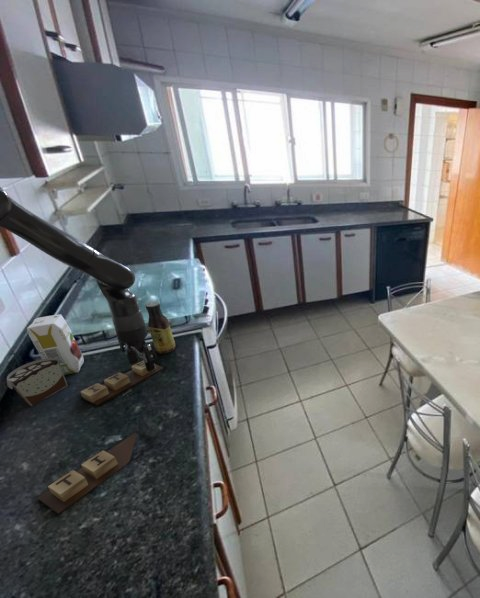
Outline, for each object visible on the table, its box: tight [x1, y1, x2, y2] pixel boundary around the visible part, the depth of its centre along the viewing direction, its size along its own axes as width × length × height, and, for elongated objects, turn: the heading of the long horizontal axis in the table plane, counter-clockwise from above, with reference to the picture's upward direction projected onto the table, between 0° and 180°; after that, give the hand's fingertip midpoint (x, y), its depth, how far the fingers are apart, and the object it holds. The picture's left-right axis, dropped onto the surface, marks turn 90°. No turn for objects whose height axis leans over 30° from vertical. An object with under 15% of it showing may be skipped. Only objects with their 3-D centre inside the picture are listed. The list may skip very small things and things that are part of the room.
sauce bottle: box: [145, 301, 177, 355], centre depth 119 cm, size 7×6×20 cm
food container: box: [6, 358, 69, 407], centre depth 97 cm, size 12×6×10 cm, turn 168°
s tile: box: [130, 360, 156, 376], centre depth 111 cm, size 4×4×3 cm
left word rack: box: [36, 432, 138, 516], centre depth 78 cm, size 20×8×3 cm, turn 158°
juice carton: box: [26, 313, 85, 376], centre depth 106 cm, size 8×9×19 cm
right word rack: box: [80, 363, 165, 407], centre depth 106 cm, size 20×8×3 cm, turn 158°
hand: (142, 366), depth 111 cm, fingers open, 8 cm apart
